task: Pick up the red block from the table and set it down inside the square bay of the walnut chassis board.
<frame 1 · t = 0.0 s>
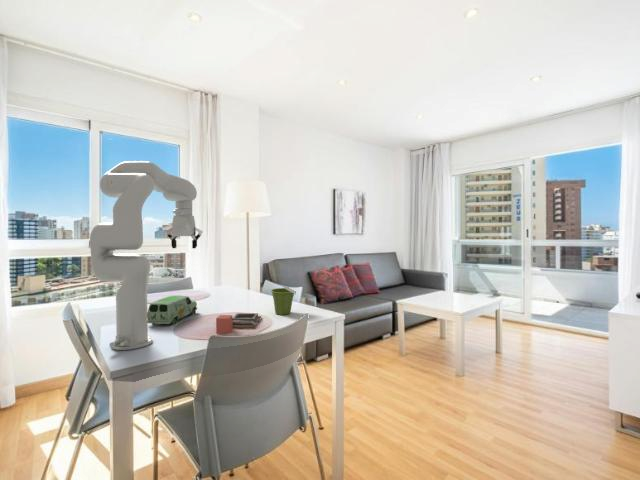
hand: (184, 248, 160), 31 cm above the table, tool pointing down, fingers open, 9 cm apart
toy car: (173, 319, 149), on the table
plant pot: (283, 313, 160), on the table
red block: (224, 331, 131), on the table
chassis board: (244, 323, 143), on the table
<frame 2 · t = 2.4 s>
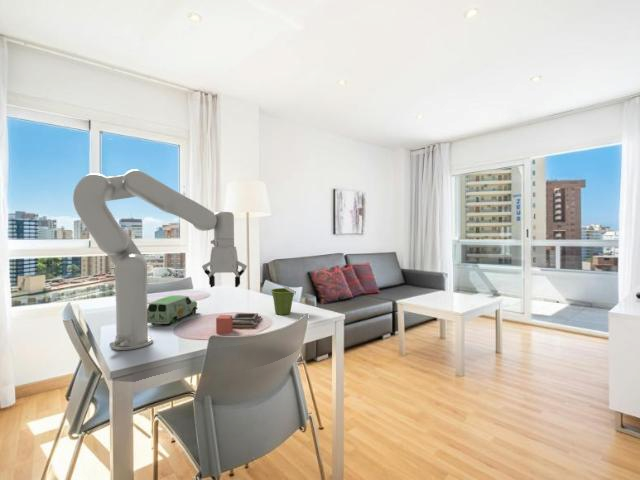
hand: (224, 286, 131), 18 cm above the table, tool pointing down, fingers open, 9 cm apart
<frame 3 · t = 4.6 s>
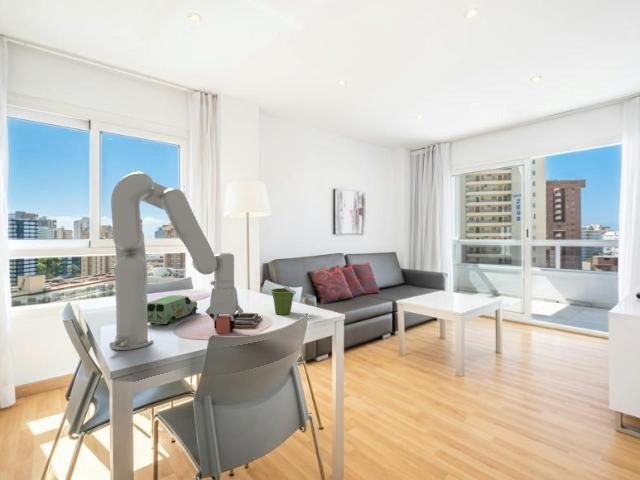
hand: (224, 329, 131), 1 cm above the table, tool pointing down, fingers closed on red block, 5 cm apart
red block: (224, 331, 131), on the table, touching gripper
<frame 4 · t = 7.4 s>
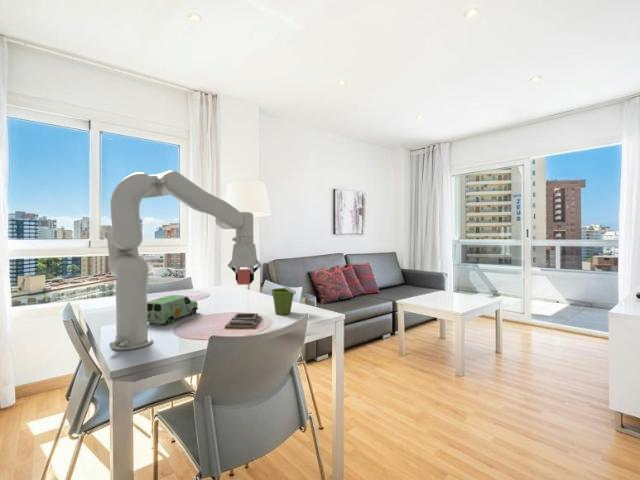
hand: (244, 281, 144), 18 cm above the table, tool pointing down, fingers closed on red block, 5 cm apart
red block: (244, 283, 144), point 17 cm above the table, touching gripper
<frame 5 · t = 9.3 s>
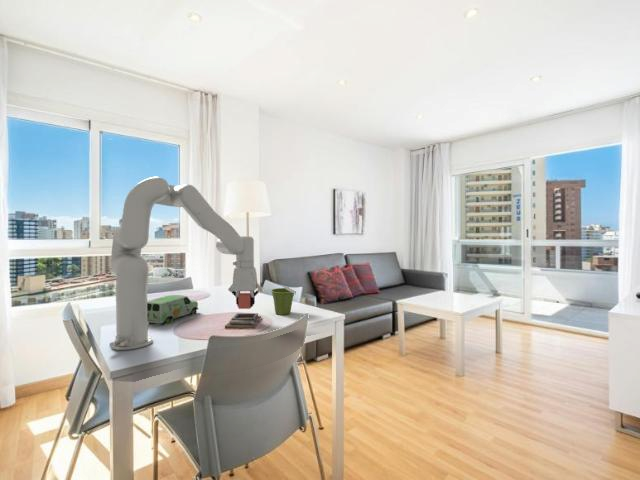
hand: (245, 305, 145), 7 cm above the table, tool pointing down, fingers closed on red block, 5 cm apart
red block: (245, 307, 145), point 6 cm above the table, touching gripper
when the fingers open (3 cm above the table, at t = 10.5 s): red block drops 1 cm, resting on chassis board.
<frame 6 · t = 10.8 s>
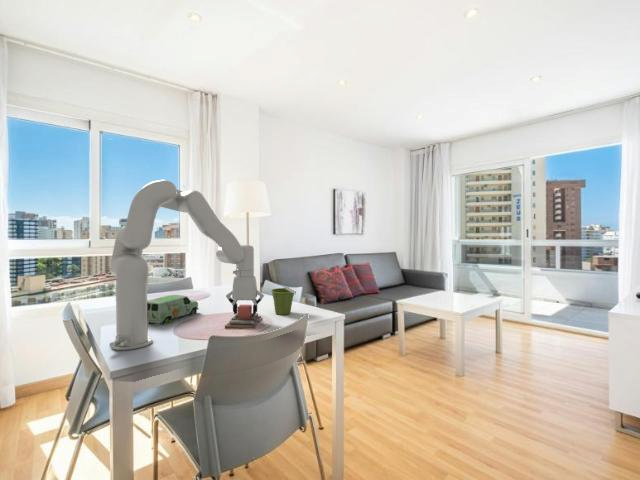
hand: (245, 313, 145), 4 cm above the table, tool pointing down, fingers open, 7 cm apart
red block: (244, 319, 145), point 1 cm above the table, touching chassis board
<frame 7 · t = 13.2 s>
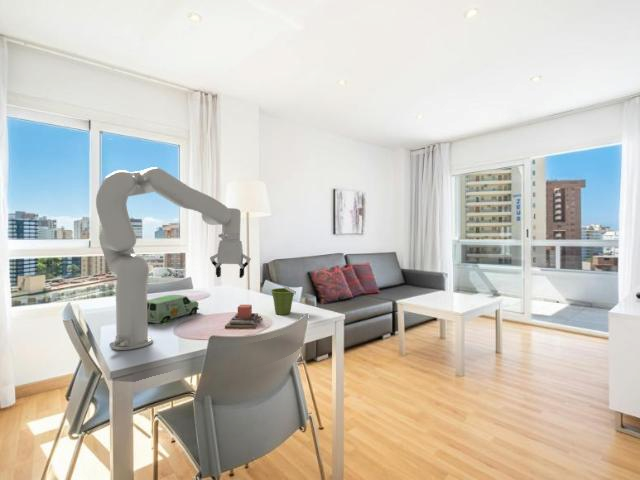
hand: (229, 277, 142), 20 cm above the table, tool pointing down, fingers open, 9 cm apart
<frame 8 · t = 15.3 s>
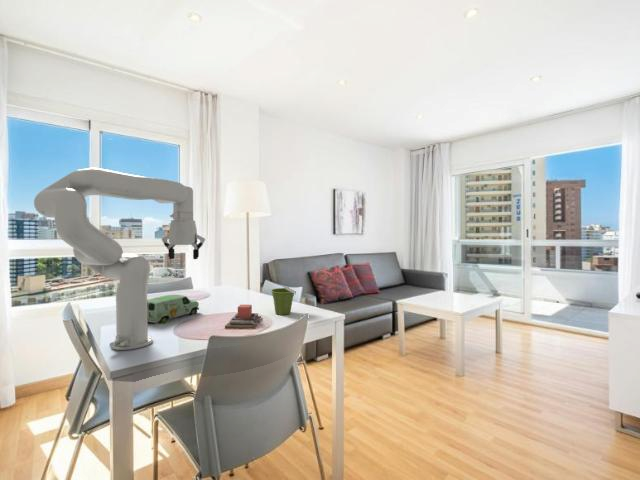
hand: (183, 258, 135), 28 cm above the table, tool pointing down, fingers open, 9 cm apart
at the end: red block 0.1 cm from the target spot on the chassis board, point 1.0 cm above the chassis board's base; red block tilted 0°; the gripper is holding nothing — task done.
